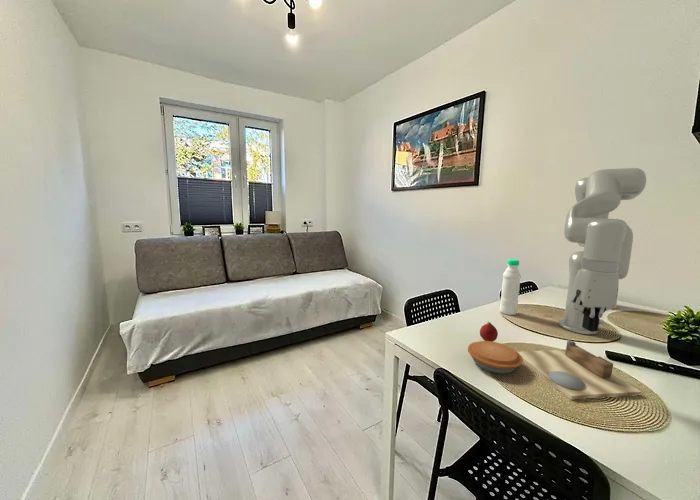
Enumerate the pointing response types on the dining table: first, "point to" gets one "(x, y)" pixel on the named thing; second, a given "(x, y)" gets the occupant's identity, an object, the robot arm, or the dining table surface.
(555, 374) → the felt pad
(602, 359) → the block
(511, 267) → the white milk bottle
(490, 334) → the onion
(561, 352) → the board
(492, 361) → the pie
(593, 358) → the leg
